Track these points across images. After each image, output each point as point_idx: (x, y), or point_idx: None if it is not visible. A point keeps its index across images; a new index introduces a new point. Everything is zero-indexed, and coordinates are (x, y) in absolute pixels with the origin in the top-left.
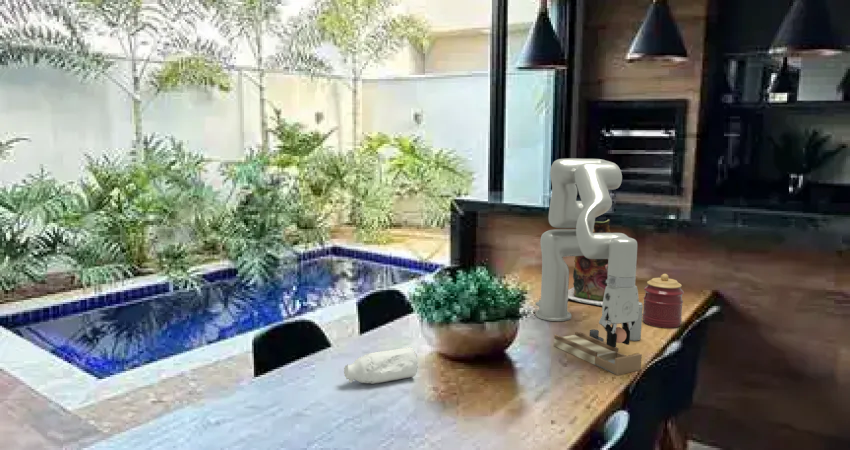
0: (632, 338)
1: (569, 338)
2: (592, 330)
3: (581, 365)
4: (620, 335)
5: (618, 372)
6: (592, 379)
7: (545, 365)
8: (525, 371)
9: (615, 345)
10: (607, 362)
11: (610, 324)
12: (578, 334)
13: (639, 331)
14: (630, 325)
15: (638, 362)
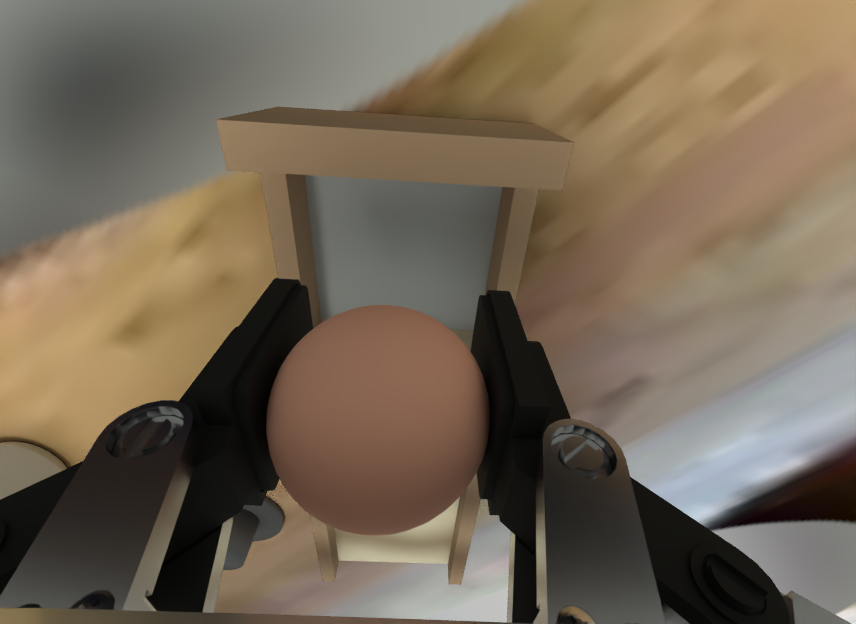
0: (36, 460)
1: (396, 546)
2: (228, 563)
3: (562, 352)
4: (443, 362)
5: (524, 125)
6: (743, 162)
7: (702, 423)
8: (848, 414)
9: (501, 296)
10: (525, 250)
11: (519, 620)
12: (335, 557)
13: None
14: (105, 494)
15: (287, 115)
